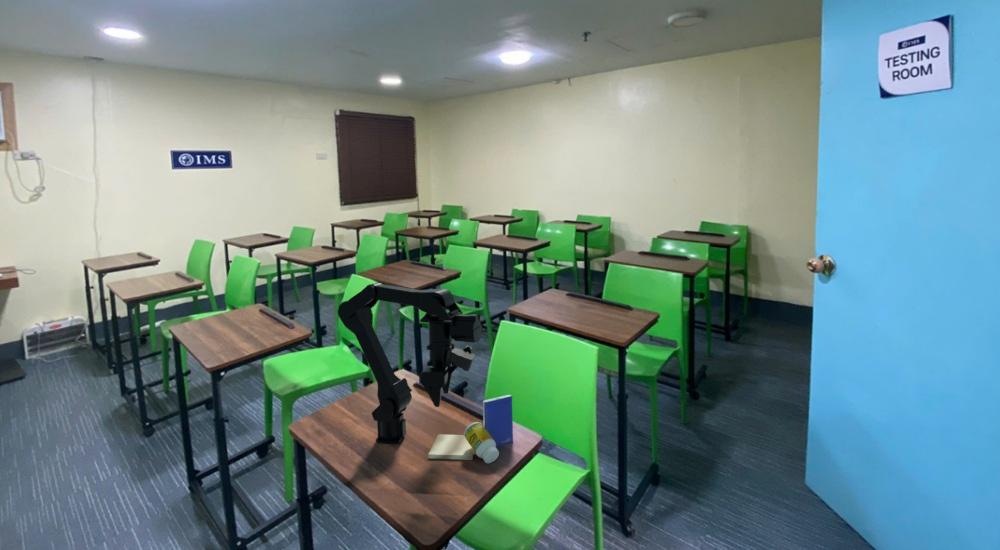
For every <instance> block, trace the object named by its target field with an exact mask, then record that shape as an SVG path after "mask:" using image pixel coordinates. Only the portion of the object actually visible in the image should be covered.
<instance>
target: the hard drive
mask: <svg viewBox="0 0 1000 550" xmlns="http://www.w3.org/2000/svg"><path fill="white" fill-rule="evenodd" d="M482 416H483V417H482V419H483V420H482V421H483V424H482V425H483V426H484V428H485V429H486V430H487V432H488V433H489V434H490V436H491V437H492V438H493V440H494V441H495V443H496V448H497V447H500V446H503V445H507V444H510V443H513V442H514V425H513V424H514V423H513V418H514V417H513V416H514V415H513V395H511V394H507V395H502V396H498V397H493V398H489V399H485V400H483V401H482Z"/></svg>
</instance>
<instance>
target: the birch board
mask: <svg viewBox="0 0 1000 550" xmlns="http://www.w3.org/2000/svg"><path fill="white" fill-rule="evenodd" d="M475 454H476V453H475V452H474V450H473V449H472V447H471V446H470V444H469V443H468V441H467V440H466V438H465V436H464V434H441V433H439V434H437V437H436V439H435V440H434V442H433V445H432V446H431V448H430V450H429V452H428V454H427V455H428V457H427V458H428V459H433V460H434V459H435V460H436V459H441V460H466V461H469V460H470V461H473V458H474V456H475Z"/></svg>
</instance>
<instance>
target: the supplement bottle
mask: <svg viewBox="0 0 1000 550" xmlns="http://www.w3.org/2000/svg"><path fill="white" fill-rule="evenodd" d="M463 432H464V433H463V435H464V436H465V438H466V440H467V441H468V443H469V444H470V446H471V447H472V449H473V450H474V452H475V453H474V454H475V455H476V456H477V457H478V458H480V459H482V460H483V461H484V463H485V464H492V463H493V462H495V461H496V460H497V459H498V458H499V454H500V452H499V450H498V448H497V447H496V443H495V441H494V440H493V438H492V437H491V436H490V434H489V433H488V432H487V430H486V429H485V428H484V426H483V424H482V423H481V422H478V421H474V422H473V423H470V424H469V425H468V426H467V427H466V428H465V429H464V431H463Z"/></svg>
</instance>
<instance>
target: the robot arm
mask: <svg viewBox="0 0 1000 550" xmlns="http://www.w3.org/2000/svg"><path fill="white" fill-rule="evenodd" d="M379 301H380V302H381V301H382V302H388V303H389V302H390V303H394V304H400V305H404V306H405V305H406V306H411V307H414V308H416V309H418V310H420V311H421V312H424V313H425V314H424V316H423V317H421V318H420V319H419V322H421V323H427V324H428V325H427V327H428V344H427V345H426V351H428V353H429V354H428V356H429V358H428V360H427V362H426V363H427V364H426V365H427V367H425V368H424V370H422V371H421V373H420V374H419V375H418V383H419V384H420V385H421V386H423V388H424V390H425V391H426V393H427V394H428V396H429V398H430V400H431V402H432V404H433V406H434V407H435V408H439V407H440V406H441V400H442V393H444V394H448V393H449V391H450V386H451V381H452V377H453V372H455V371H456V369H457V368H460V369H462V371H465V372H469V371H470V370H471V368H472V365H473V363H474V360H475V358H476V355H475V353H473V351H474V350H473V347H472V346H471V345H466V346H465V347H463V349H462V348H456V344H455V342H461V343H462V342H465V343H475V344H476V343H479V342H480V340H481V338H482V332H483V326H482V324H481V321H480V319H479V315H478V314H463V311H462V310H461V307H459V305H458V304H457V303H456V301H455V298H454V296H453V293H452V292H451V290H449V289H447V288H431V289H414V288H409V287H404V286H403V287H402V286H396V285H392V284H391V285H389V284H385V283H384V284H383V283H381V282H375V283H371V284H367V285H366V286H365V287H364V288H363V289H362V290H361V291H359V292H358V293H356V294H355V295H354V296H352V297H350V298H349V299H348V300H345V301H342V302H341V303H340V304H339V306H338V309H337V315H338V318H339V319H340V321H341V323H342V324H343V326H344V327H345V328H346V329H348V331H350V332H351V333H353V335H355V338H356V340H357V342H358V345H359V346H360V348H361V350H362V353H363V355H364V358H365V359H366V362H367V365H368V367H370V370H371V372H372V375H373V376H374V379H375V381H376V384H377V395H376V396H377V400H378V403H379V404H378V406H377V407H375V409H374V410H373V411H372V412H371V415H372V418H373V421H374V422H375V421H376V423H377V424H376V425H377V437H376V439H375V442H376V443H387V444H388V443H390V444H391V443H392V444H394V443H395V444H399V443H401V440H402V439H403V438H404V437H405V435H406V434H407V429H406V428H407V426H406V425H407V424H406V419H405V418H404V412H405V411H406V410H407V407H408V405H409V404H410V403H411V401H412V398H413V397H412V391H413V390H412V388H411V387H410V386H409V383H408V380H407V379H406V377H403V378H402V379H401V378H400V377H398V376H397V375H396V374H395V372H394V370H393V368H392V366H391V363H390V362H389V360H388V357H387V355H386V353H385V350H384V347H382V344H381V342H380V340H379V337H378V336H377V333H376V331H375V328H374V325H373V320H374V315H373V310H372V308H374V307H375V306H376V305H377V304H378V302H379ZM454 341H455V342H454Z"/></svg>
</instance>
